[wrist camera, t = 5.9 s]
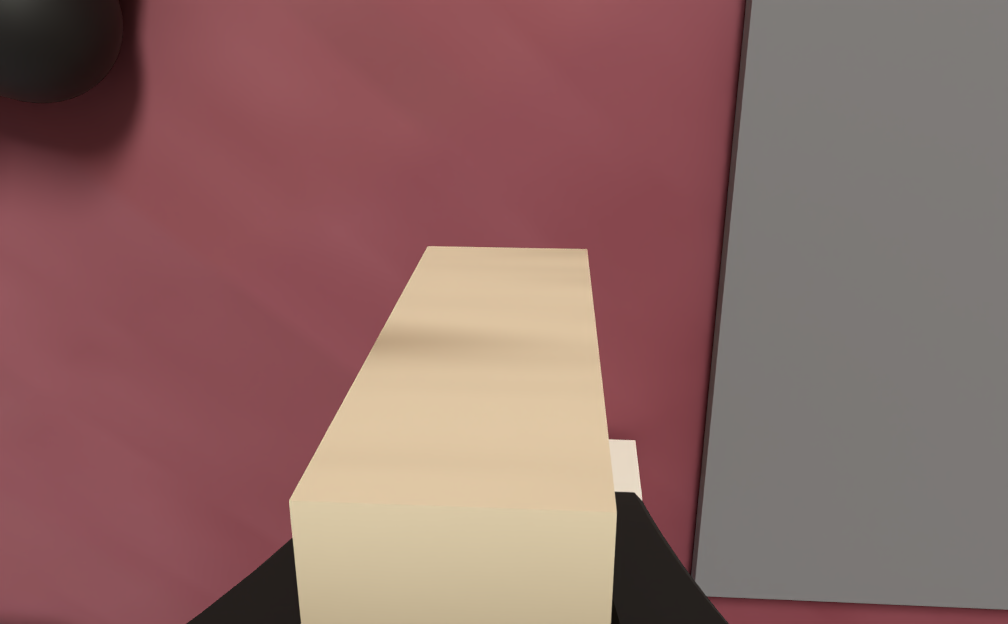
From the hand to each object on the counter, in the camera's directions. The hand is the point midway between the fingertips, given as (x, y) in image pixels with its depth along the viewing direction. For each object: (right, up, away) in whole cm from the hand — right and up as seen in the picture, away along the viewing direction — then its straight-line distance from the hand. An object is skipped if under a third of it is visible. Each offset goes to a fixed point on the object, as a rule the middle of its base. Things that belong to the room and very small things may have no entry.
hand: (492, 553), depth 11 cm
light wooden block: (0, +1, +3) cm, 3 cm away
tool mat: (+10, +4, +6) cm, 12 cm away
